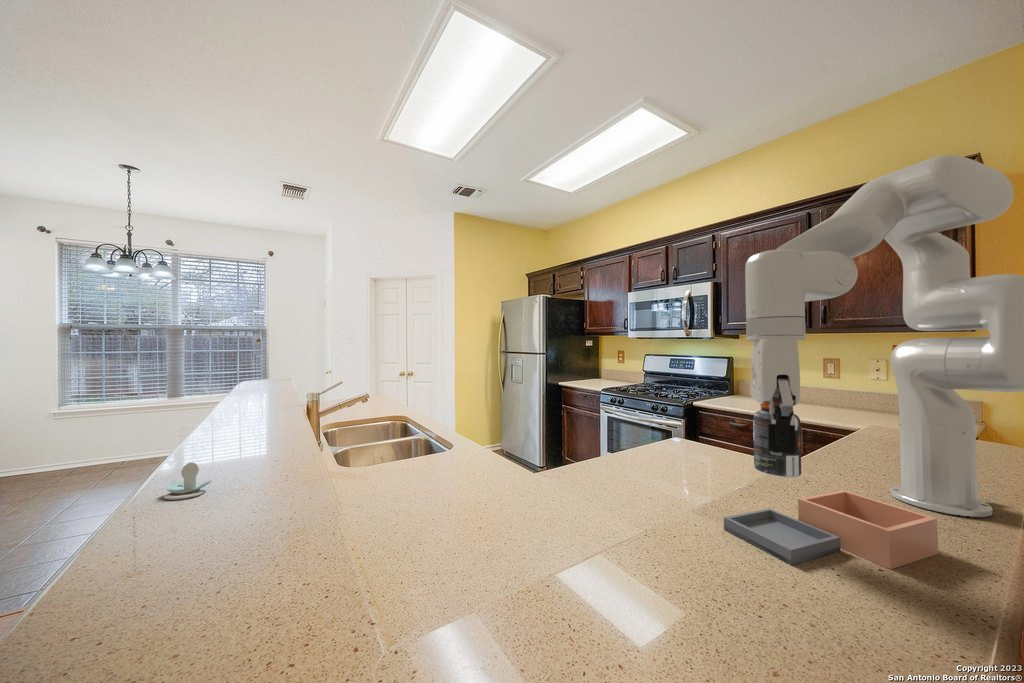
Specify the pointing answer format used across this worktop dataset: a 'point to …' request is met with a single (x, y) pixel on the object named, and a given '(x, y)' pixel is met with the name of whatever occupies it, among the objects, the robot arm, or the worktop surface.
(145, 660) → the worktop surface
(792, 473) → the pill bottle
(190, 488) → the pacifier
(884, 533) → the frame
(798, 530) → the charcoal tray
